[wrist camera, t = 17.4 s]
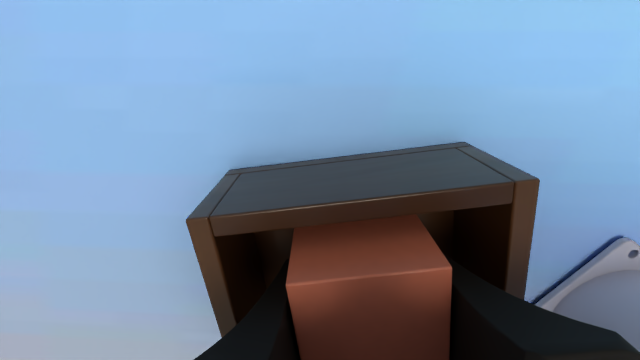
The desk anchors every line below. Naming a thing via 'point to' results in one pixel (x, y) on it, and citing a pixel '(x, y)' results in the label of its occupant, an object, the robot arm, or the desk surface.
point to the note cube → (369, 291)
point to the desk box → (363, 215)
